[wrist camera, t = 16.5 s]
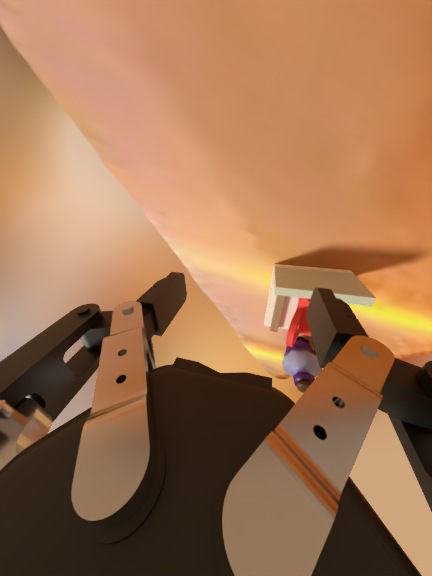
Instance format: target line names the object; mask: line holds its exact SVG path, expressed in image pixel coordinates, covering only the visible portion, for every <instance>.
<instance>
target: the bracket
mask: <svg viewBox="0 0 432 576" xmlns="http://www.w3.org/2000/svg"><path fill="white" fill-rule="evenodd" d="M309 302H310V299H307V298H299V300H298V306H297V309H296V312H295V314H294V316H293V318H292V320H291V323H290V326H289V330H288V334H287V339H286V345H287V346H290V347H294V345H295V343H296V340H297V338H298V335H299V333H301V334H305V335H308V336H311V333H310V330H309V326H308V322H307V317H306V314H307V308H308V305H309Z"/></svg>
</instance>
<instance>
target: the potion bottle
mask: <svg viewBox="0 0 432 576" xmlns="http://www.w3.org/2000/svg"><path fill="white" fill-rule="evenodd" d="M283 367H284V371H285V373H287V374H289V375H291V376H293V378H294V383H295V386H297V388H298V390H299V391H301V392H303V393H304V392H305V391H306V390H307V389H308V387H309V386H310V385H311V384H312V382H313V381H314V380H315V378H314V377H316V376H317V375H319V374H320V372H321V371H322V368H320V366H319V363H318V359H317V355H316V352H315V350H314V352H313V350H312V348H311V346H310V345H309V341H308V340H306V339H304V338H302V337H298V338H297V340H296V343H295V345H294V347H290V346H287V348H286V353H285V354H284V358H283Z"/></svg>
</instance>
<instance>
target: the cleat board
mask: <svg viewBox="0 0 432 576" xmlns="http://www.w3.org/2000/svg"><path fill="white" fill-rule="evenodd" d="M315 287H318V288H327V289H331V290H332V291H333V293H334V295H335V297H336V298H338V299H341V300H343V301H344V302H345V303H348V304H357V305H365V306H372V304H373V302H374V301H375V299H376V298H375V296H374V295H373V294H372V293H371V292H370V291H369V290H368V289H367V288H366V286H365V285H364V284H363V283H362V282H361V281H360V280H359V279H358V278H357V276H356V275H355V274H354V273H353V272H352V271H351V270H343V269H331V268H319V267H307V266H295V265H283V264H274V268H273V274H272V280H271V286H270V292H269V297H268V303H267V309H266V315H265V320H264V326H270V331H274V332H277V330H278V328H282V329H288V330H289V326H290V323H291V320H292V318H293V316H294V314H295V312H296V309H297V306H298V300H299V298H307V299H311V296H312V293H313V290H314V288H315Z"/></svg>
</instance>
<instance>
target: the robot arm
mask: <svg viewBox="0 0 432 576" xmlns="http://www.w3.org/2000/svg"><path fill="white" fill-rule="evenodd" d="M186 295H187V292H186V284H185V277H184V274H183V273H176V272H171V273H170V274H169V275H168V276H167V277H166V278H163V279H162V280H160V281H157V282H156V283H155V284H154V285H153V287H151V288H150V289H149V290H148V291H147V292H145V294H143V295H142V296H141V297H140V298H139V299H138V300H137V301H129V302H125V303H122V304H120V305H118V307H116V308H115V309H114V310H113V311H103V312H101V310H100V308H99V306H98V305H96V304H86V305H82V306H79V307H77V308H75V309H74V310H72V311H71V312H70V313H68V314H66V315H65V316H64V317H62V318H61V319H59V320H58V321H57V322H55V323H54V324H53V325H51V326H50V327H48V328H47V329H46V330H44V331H43V332H42V333H40V334H39V335H37V336H36V337H35V338H33V339H32V340H30V341H29V342H27V343H26V344H25V345H23V346H22V347H20V348H19V349H18V350H16V351H15V352H14V353H12V354H11V355H9V356H8V357H7V358H5V359H4V360H2V361H1V362H0V576H421V574H420V573H419V571H418V570H417V569H416V567H415V566H414V565H413V563H412V562H411V560H410V559H409V558H408V556H407V555H406V554H405V552H404V551H403V550H402V548H401V547H400V545H399V544H398V543H397V541H396V540H395V539H394V537H393V536H392V534H391V533H390V532H389V530H388V529H387V528H386V526H385V525H384V523H383V522H382V521H381V520H380V518H379V517H378V515H377V514H376V512H375V511H374V510H373V508H372V507H371V506H370V504H369V503H368V501H367V500H366V499H365V497H364V496H363V495H362V493H361V492H360V490H359V489H358V488H357V486H356V485H355V484H354V483H353V481H352V479H351V478H350V477H349V474H350V472H351V470H352V467H353V465H354V463H355V460H356V458H357V456H358V453H359V451H360V449H361V446H362V444H363V442H364V439H365V437H366V435H367V433H368V430H369V428H370V425H371V423H372V421H373V419H374V416H375V414H376V412H377V409H379V410H381V411H383V412H385V413H388V415H389V418H390V420H391V422H392V424H393V426H394V429H395V431H396V433H397V435H398V437H399V440H400V442H401V444H402V446H403V448H404V451H405V453H406V455H407V458H408V460H409V462H410V464H411V466H412V469H413V471H414V473H415V475H416V478H417V480H418V482H419V484H420V486H421V489H422V491H423V493H424V495H425V498H426V500H427V502H428V504H429V507H430V509H431V511H432V361H429V362H427V363H426V364H425V365H424V366H423V367H422V368H421V367H418V366H415V365H413V364H410V363H407V362H404V361H401V360H399V359H396V358H394V355H393V353H392V352H391V351H390V349H389V348H387V347H386V346H385V345H384V344H382V343H381V342H379V341H377V340H375V339H373V338H370V337H368V335H367V334H366V332H365V330H364V329H363V327H362V326H361V324H360V322H359V321H358V319H356V316H355V315H354V313H352V312H353V311H352V310H351V308H350V307H349V305H348V304H347V303H345V302H344V301H343V300H341V299H338V298H336V297H335V295H334V293H333V291H332V290H331V289H327V288H318V287H315V288H314V290H313V293H312V296H311V299H310V302H309V305H308V308H307V314H306V317H307V322H308V326H309V330H310V333H311V337H312V341H313V344H314V348H315V352H316V355H317V359H318V363H319V366H320V368H324V369H323V370H322V371H321V372H320V374H319V375H318V376H317V377H316V379H315V380H314V381H313V382H312V384H311V385H310V386H309V387H308V389H307V390H306V391H305V392H304V394H303V395H302V396H301V398H300V399H299V400H298V401H297V403H296V404H295V403H294V402H293V401H292V400H291V399H290V398H289V397H287V396H286V395H285V394H283V393H282V392H281V391H279V390H277V389H276V388H274V387H272V378H269V377H264V376H260V375H255V374H251V373H219V372H217V371H215V370H213V369H211V368H209V367H207V366H205V365H203V364H201V363H199V362H195V361H191V360H186V359H182V358H176V360H175V362H174V364H173V365H165V366H161V367H158V368H156V364H155V357H154V350H153V343H152V339H151V338H152V336H153V335H158V336H162V334H163V333H164V332H165V330H166V328H167V327H168V326H169V324H170V323H171V321H172V320H173V318H174V317H175V315H176V314H177V312H178V311H179V309H180V308H181V307H182V305H183V304H184V302H185V300H186ZM79 339H81V340H82V342H83V344H84V346H83V347H82V348H81V349H80V350H79V351H78V352H77V353H76V354H75V355H74V356H73V357H72V358H71V359H70V360H69V361H68V362H67V363H66V364H65V362H64V360H63V357H64V354H65V352H66V351H67V350H68V349H69V348H70V347H71V346H72V345H73V344H74V343H75V342H76V341H77V340H79ZM97 368H98V374H97V379H96V386H95V392H94V398H93V404H92V407H91V408H89V409H88V410H86V411H84V412H83V413H81V414H79V415H78V416H76V417H75V418H73V419H71V420H70V421H68V422H66V423H65V424H63V425H62V426H60V427H58V428H57V429H55V430H53V431H52V432H50V433H49V434H47V433H48V432H49V430H50V428H51V425H52V422H53V421H54V420H55V419H56V418H57V416H58V415H59V414H60V413H61V412H62V410H63V409H64V408H65V407H66V405H67V404H68V403H69V402H70V401H71V400H72V398H73V397H74V396H75V395H76V394H77V392H78V391H79V390H80V389H81V388H82V386H83V385H84V384H85V383H86V381H87V380H88V379H89V378H90V377H91V376H92V374H93V373H94V372H95V371H96V369H97Z"/></svg>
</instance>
